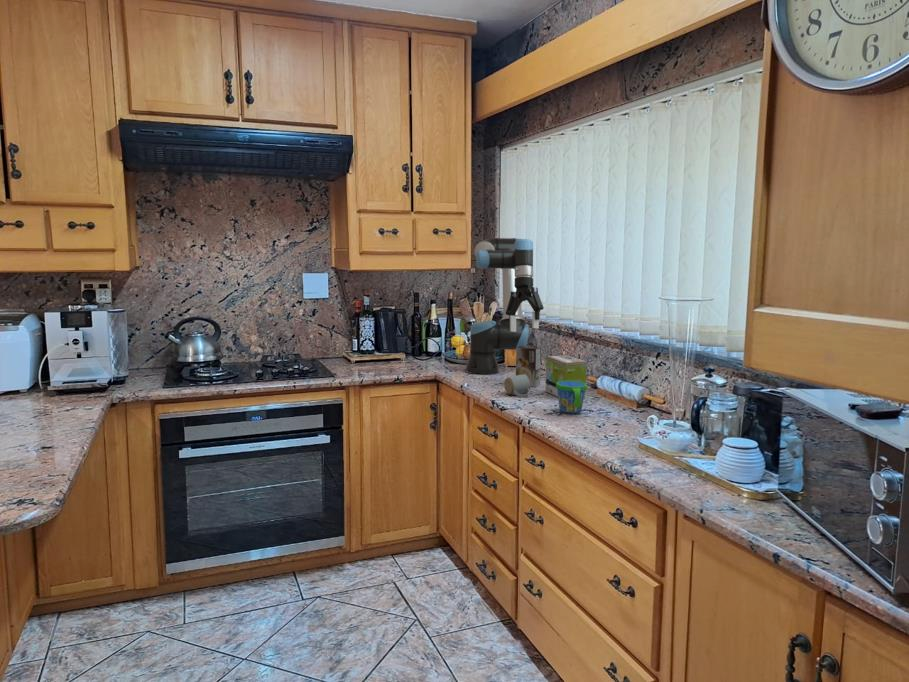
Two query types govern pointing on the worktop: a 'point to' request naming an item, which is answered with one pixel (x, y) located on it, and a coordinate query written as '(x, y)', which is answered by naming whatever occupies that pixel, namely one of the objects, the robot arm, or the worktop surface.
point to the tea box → (564, 371)
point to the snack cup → (571, 396)
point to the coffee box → (529, 363)
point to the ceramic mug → (517, 385)
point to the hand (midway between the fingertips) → (524, 330)
